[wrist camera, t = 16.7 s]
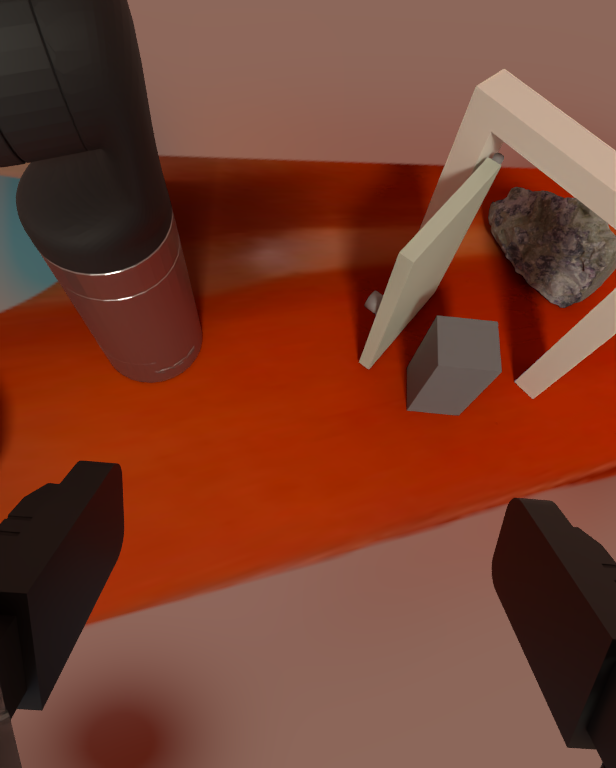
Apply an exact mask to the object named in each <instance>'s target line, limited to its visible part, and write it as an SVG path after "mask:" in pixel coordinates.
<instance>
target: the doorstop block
mask: <svg viewBox="0 0 616 768" xmlns="http://www.w3.org/2000/svg"><path fill="white" fill-rule="evenodd" d="M501 372H502V370H501V357H500V345H499V332H498V322H494V321H485V320H475V319H466V318H456V317H447V316H436V318H435V320H434V322H433V323H432V325H431V327H430V329H429V330H428V332H427V334H426V336H425V337H424V339H423V341H422V342H421V344H420V346H419V348H418V349H417V351H416V353H415V355H414V356H413V358H412V360H411V362H410V363H409V365H408V367H407V410H408V411H418V412H428V413H438V414H448V415H458V416H459V415H460V414H461V413H462V412H463V411H464V410H465V408H466V407H467V406H468V405H469V404H470V403H471V402H472V401H473V400H474V399H475V398H476V397H477V396H478V395H479V394H480V393H481V392H482V391H483V390H484V389H485V388H486V387H487V386H488V385H489V384H490V383H491V382H492V381H493V380H494V379H495V378H496V377H497V376H498V375H499V374H500V373H501Z"/></svg>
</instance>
